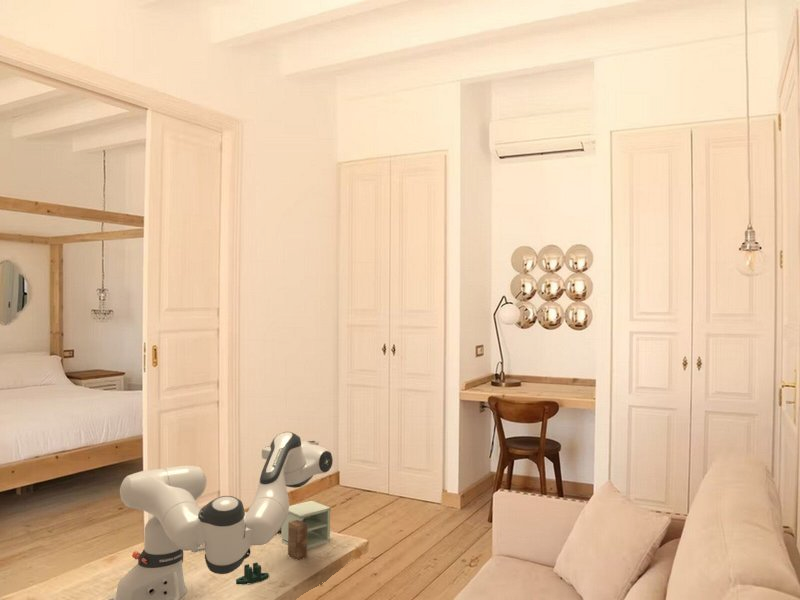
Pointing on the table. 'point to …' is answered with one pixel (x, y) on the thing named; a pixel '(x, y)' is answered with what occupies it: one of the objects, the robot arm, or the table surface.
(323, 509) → the cabinet
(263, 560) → the table surface
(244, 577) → the mount
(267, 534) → the robot arm
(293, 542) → the brown wooden tall block
